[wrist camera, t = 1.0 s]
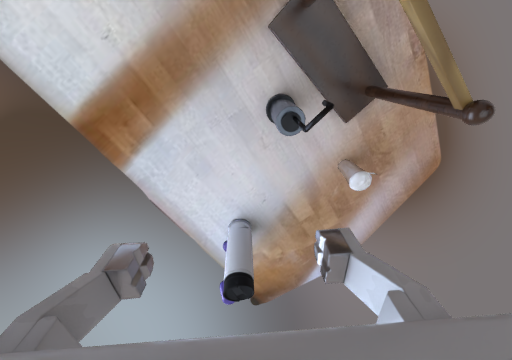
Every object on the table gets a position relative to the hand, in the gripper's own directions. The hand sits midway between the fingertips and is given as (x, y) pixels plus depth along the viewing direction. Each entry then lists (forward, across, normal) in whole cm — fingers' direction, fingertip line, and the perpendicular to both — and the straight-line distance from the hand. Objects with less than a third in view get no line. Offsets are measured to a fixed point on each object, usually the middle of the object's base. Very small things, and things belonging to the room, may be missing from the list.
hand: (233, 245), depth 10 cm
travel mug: (+39, +3, +31) cm, 50 cm away
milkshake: (+38, -24, +14) cm, 47 cm away
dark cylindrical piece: (+38, -9, 0) cm, 39 cm away
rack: (+38, -18, -8) cm, 43 cm away
